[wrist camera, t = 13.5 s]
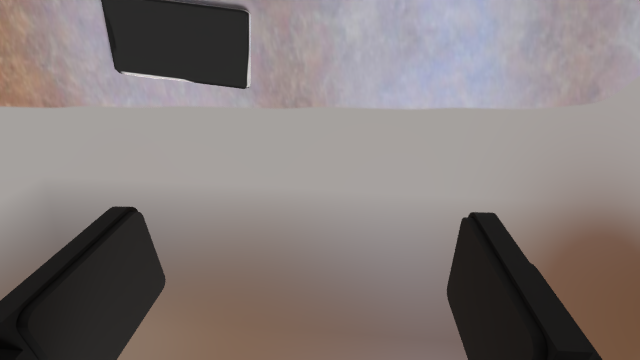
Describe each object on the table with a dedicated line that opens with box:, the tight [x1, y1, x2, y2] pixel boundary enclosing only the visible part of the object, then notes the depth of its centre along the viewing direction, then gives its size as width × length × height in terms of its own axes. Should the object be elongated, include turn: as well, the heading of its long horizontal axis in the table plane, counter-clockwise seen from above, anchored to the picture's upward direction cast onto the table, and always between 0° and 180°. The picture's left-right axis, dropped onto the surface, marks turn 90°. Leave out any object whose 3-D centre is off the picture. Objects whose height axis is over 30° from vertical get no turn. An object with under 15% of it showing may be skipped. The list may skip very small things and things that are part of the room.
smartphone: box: [101, 0, 251, 89], centre depth 34 cm, size 8×1×15 cm
